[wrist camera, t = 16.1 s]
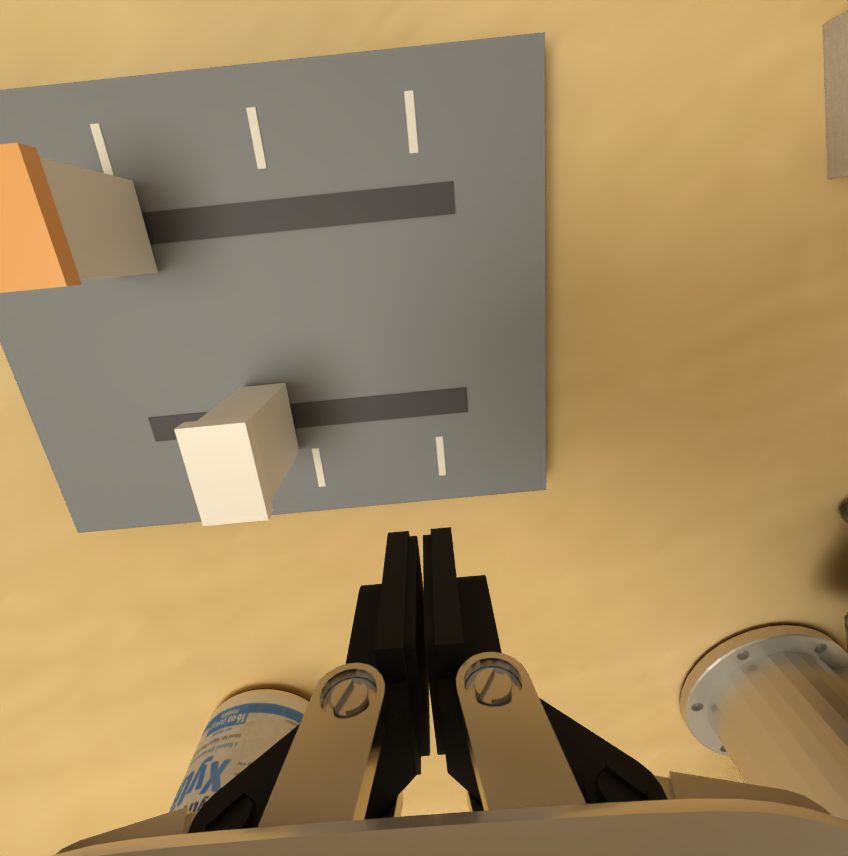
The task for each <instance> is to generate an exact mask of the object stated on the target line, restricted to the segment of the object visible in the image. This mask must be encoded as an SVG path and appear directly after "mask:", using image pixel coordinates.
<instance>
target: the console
mask: <svg viewBox="0 0 848 856" xmlns="http://www.w3.org/2000/svg"><path fill="white" fill-rule="evenodd" d="M9 143H21V144H24V145H28V146H32V147H35V148H37V151H38V154H39V157H42V158H46V159H50V160H54V161H57V162H61V163H65V164H69V165H73V166H77V167H81V168H85V169H89V170H93V171H97V172H101V173H105V174H109V175H113V176H117V177H121V178H125V179H129V180H133V184H134V187H135V191H136V195H137V198H138V202H139V205H140V209H141V213H142V216H143V220H144V223H145V227H146V231H147V234H148V238H149V241H150V245H151V249H152V252H153V256H154V260H155V263H156V267H157V270H158V273H151V274H141V275H131V276H121V277H111V278H100V279H88V280H81V283H82V285H75V286H65V287H55V288H45V289H35V290H25V291H15V292H5V293H0V343H1V345H2V348H3V350H4V353H5V355H6V358H7V360H8V362H9V365H10V367H11V370H12V372H13V375H14V377H15V380H16V382H17V384H18V387H19V389H20V392H21V394H22V397H23V399H24V402H25V404H26V406H27V409H28V411H29V414H30V416H31V419H32V421H33V424H34V426H35V429H36V431H37V433H38V436H39V438H40V441H41V443H42V446H43V448H44V451H45V453H46V455H47V458H48V460H49V463H50V465H51V468H52V470H53V473H54V475H55V478H56V480H57V482H58V485H59V487H60V490H61V492H62V495H63V497H64V500H65V502H66V504H67V507H68V509H69V512H70V514H71V517H72V519H73V522H74V524H75V526H76V529H77V531H78V533H82V532H93V531H104V530H115V529H125V528H136V527H147V526H158V525H169V524H180V523H190V522H201V518H200V514H199V511H198V508H197V504H196V501H195V498H194V494H193V491H192V488H191V484H190V481H189V478H188V474H187V471H186V468H185V464H184V461H183V457H182V454H181V451H180V447H179V444H178V441H177V437H176V434H175V431H174V429H175V428H176V427H178V426H179V425H181V424H182V423H183V422H192V421H197V420H199V419H200V418H201V417H202V416H204V415H205V414H206V413H208V412H209V411H210V410H211V409H213V408H214V407H215V406H217V405H218V404H219V403H220V402H222V401H223V400H224V399H226V398H227V397H228V396H229V395H231V394H232V393H233V392H235V391H236V390H237V389H238V388H240V387H246V386H257V385H267V384H277V383H286V388H287V393H288V398H289V403H290V408H291V413H292V418H293V423H294V428H295V433H296V437H297V442H298V447H299V454H298V456H297V457H296V459H295V461H294V463H293V464H292V466H291V468H290V470H289V471H288V473H287V475H286V477H285V478H284V480H283V482H282V484H281V485H280V487H279V489H278V491H277V492H276V494H275V496H274V498H273V499H272V505H273V509H274V511H273V513H272V514H271V515H277V514H288V513H299V512H310V511H320V510H331V509H342V508H353V507H364V506H375V505H386V504H396V503H407V502H418V501H429V500H440V499H451V498H461V497H472V496H483V495H494V494H505V493H516V492H526V491H537V490H546V301H545V32H544V33H534V34H525V35H516V36H506V37H497V38H487V39H478V40H469V41H459V42H450V43H440V44H431V45H421V46H412V47H403V48H393V49H384V50H374V51H365V52H355V53H346V54H337V55H327V56H318V57H308V58H299V59H289V60H280V61H271V62H261V63H252V64H242V65H233V66H223V67H214V68H205V69H195V70H186V71H176V72H167V73H158V74H148V75H139V76H129V77H120V78H110V79H101V80H92V81H82V82H73V83H63V84H54V85H44V86H35V87H26V88H16V89H7V90H0V144H9Z"/></svg>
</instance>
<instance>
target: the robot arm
mask: <svg viewBox="0 0 848 856" xmlns="http://www.w3.org/2000/svg"><path fill="white" fill-rule="evenodd" d="M423 573H424V590H423V582H422V573H421V565H420V556H419V547H418V539H417V536H410V535H409V531H404V532H392V533H388V536H387V545H386V553H385V562H384V570H383V579H382V584H375V585H363V586H361V587H360V590H359V594H358V600H357V605H356V611H355V616H354V622H353V627H352V633H351V638H350V644H349V649H348V654H347V660H346V664H345V665H342V666H339V667H337V668H335V669H333V670H332V671H330V672H328V673H327V674H326V675H325V676H324V677H323V678H322V679H321V680H320V681H319V683H318V684H317V686H316V688H315V689H314V691H313V694H312V696H311V699H310V701H309V704H308V706H307V708H306V711H305V713H304V716H303V718H302V721H301V723H300V724H299V725H298V726H296V727H295V728H294V729H293V730H291V731H290V732H289V733H288V734H287V735H285V736H284V737H283V738H282V739H280V740H279V741H278V742H277V743H276V744H274V745H273V746H272V747H271V748H269V749H268V750H267V751H266V752H265V753H263V754H262V755H261V756H260V757H258V758H257V759H256V760H255V761H254V762H252V763H251V764H250V765H249V766H247V767H246V768H245V769H244V770H243V771H241V772H240V773H239V774H238V775H236V776H235V777H234V778H233V779H232V780H230V781H229V782H228V783H227V784H225V785H224V786H223V787H222V788H221V789H219V790H218V791H217V792H216V793H214V794H213V795H212V796H211V797H210V798H209V799H208V800H207V801H206V802H205V803H204V804H203V805H202V807H201V808H200V810H198V811H195V812H192V813H190V811H189V809H188V807H185V808H182V809H179V810H176V811H173V812H169V813H166V814H163V815H160V816H157V817H153V818H150V819H147V820H144V821H141V822H137V823H134V824H131V825H128V826H125V827H122V828H118V829H115V830H112V831H109V832H106V833H102V834H99V835H96V836H93V837H90V838H86V839H83V840H80V841H78V842H76V843H73V844H71V845H69V846H67V847H65V848H63V849H62V850H60V851H59V852H58V853H56V854H55V855H53V856H848V654H847V653H846V652H845V651H844V650H843V649H842V648H841V647H840V646H839V645H838V644H837V643H836V642H835V641H834V640H832V639H831V638H830V637H829V636H827V635H825V634H823V633H821V632H819V631H817V630H814V629H810V628H806V627H802V626H789V625H781V626H770V627H764V628H759V629H755V630H751V631H748V632H745V633H743V634H740V635H737V636H735V637H733V638H731V639H729V640H727V641H725V642H724V643H722V644H720V645H718V646H717V647H716V648H714V649H713V650H712V651H710V652H709V653H707V654H706V655H705V656H704V657H703V658H702V659H701V660H700V661H699V662H698V663H697V664H696V665H695V667H694V668H693V670H692V671H691V673H690V674H689V675H688V677H687V679H686V681H685V684H684V686H683V688H682V692H681V698H680V708H681V713H682V716H683V719H684V721H685V723H686V725H687V726H688V728H689V730H690V731H691V733H692V735H693V736H694V737H695V738H696V739H697V740H698V741H699V743H700V744H702V745H704V746H705V747H707V748H708V749H710V750H712V751H714V752H717V753H719V754H722V755H727V756H730V757H731V759H732V761H733V762H734V764H735V765H736V767H737V769H738V770H739V772H740V773H741V775H742V777H743V778H744V780H745V781H746V783H747V784H746V783H740V782H734V781H727V780H721V779H715V778H709V777H702V776H696V775H690V774H683V773H677V772H671V771H669V778H666V777H660V776H654V775H653V774H652V773H651V772H650V771H649V770H648V769H647V768H645V767H644V766H643V765H642V764H640V763H639V762H638V761H636V760H635V759H633V758H632V757H630V756H629V755H627V754H625V753H624V752H622V751H621V750H619V749H618V748H616V747H615V746H613V745H611V744H610V743H608V742H607V741H605V740H604V739H602V738H601V737H599V736H598V735H596V734H594V733H593V732H591V731H590V730H588V729H587V728H585V727H584V726H582V725H580V724H579V723H577V722H576V721H574V720H573V719H571V718H570V717H568V716H566V715H565V714H563V713H562V712H560V711H559V710H557V709H556V708H554V707H553V706H551V705H549V704H548V703H546V702H545V701H543V700H542V699H540V698H539V697H538V695H537V692H536V690H535V688H534V686H533V684H532V681H531V679H530V677H529V675H528V673H527V671H526V670H525V668H524V667H523V665H522V664H521V663H519V662H518V661H517V660H516V659H515V658H513V657H511V656H508V655H506V654H503V653H502V652H501V648H500V643H499V638H498V633H497V628H496V623H495V618H494V614H493V609H492V604H491V599H490V594H489V589H488V584H487V580H486V576H485V575H481V576H469V577H458V578H457V577H456V569H455V560H454V551H453V542H452V533H451V527H449V528H438V529H431V535H423ZM429 689H430V697H431V705H432V713H433V721H434V729H435V737H436V746H437V753H438V755H443V754H446V762H447V770H448V773H449V774H450V775H451V776H452V777H453V778H454V779H455V780H456V781H457V782H459V783H460V784H461V785H462V786H463V787H464V788H465V789H466V790H467V800H468V805H469V809H470V812H461V813H447V814H433V815H418V816H405V817H401V812H402V806H403V789H404V788H405V787H406V786H407V785H408V784H409V783H410V782H411V781H412V780H413V778H414V777H415V776H416V775H418V774H421V756H429V755H430V723H429Z"/></svg>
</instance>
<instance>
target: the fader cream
mask: <svg viewBox="0 0 848 856" xmlns="http://www.w3.org/2000/svg"><path fill="white" fill-rule="evenodd" d="M174 431H175V434H176V437H177V441H178V444H179V447H180V451H181V454H182V457H183V461H184V464H185V468H186V471H187V474H188V478H189V481H190V484H191V488H192V491H193V494H194V498H195V501H196V504H197V508H198V511H199V514H200V518H201V521H202V524H203V526H209V525H220V524H231V523H242V522H252V521H263V520H269V518H270V516H271V514H272V513H273V511H274V509H273V505H272V499H273V498H274V496H275V494H276V492H277V491H278V489H279V487H280V485H281V484H282V482H283V480H284V478H285V477H286V475H287V473H288V471H289V470H290V468H291V466H292V464H293V463H294V461H295V459H296V457H297V456H298V454H299V447H298V442H297V437H296V433H295V428H294V423H293V418H292V413H291V408H290V403H289V398H288V393H287V388H286V383H277V384H267V385H257V386H246V387H240V388H238V389H237V390H236V391H235V392H233V393H232V394H231V395H229V396H228V397H227V398H226V399H224V400H223V401H222V402H220V403H219V404H218V405H217V406H215V407H214V408H213V409H211V410H210V411H209V412H208V413H206V414H205V415H204V416H202V417H201V418H200V419H199V420H197V421H192V422H183V423H182V424H181V425H179V426H178V427H176V428H175V429H174Z"/></svg>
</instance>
